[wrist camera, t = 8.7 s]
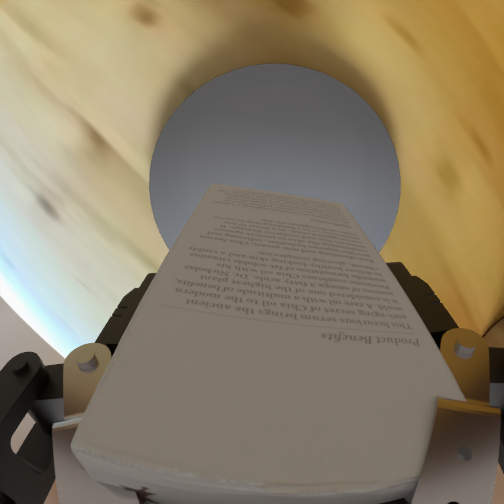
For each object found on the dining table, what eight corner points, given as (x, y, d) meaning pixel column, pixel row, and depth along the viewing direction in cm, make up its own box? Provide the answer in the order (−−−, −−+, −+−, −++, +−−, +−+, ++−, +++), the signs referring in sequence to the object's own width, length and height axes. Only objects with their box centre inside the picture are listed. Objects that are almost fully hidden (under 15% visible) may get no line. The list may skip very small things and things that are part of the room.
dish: (392, 72, 16) (401, 70, 15) (380, 287, 23) (386, 299, 22) (145, 82, 17) (135, 81, 16) (177, 294, 24) (171, 306, 23)
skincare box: (203, 267, 15) (121, 523, 4) (210, 180, 13) (50, 442, 2) (326, 284, 15) (384, 536, 4) (348, 201, 13) (505, 455, 3)
